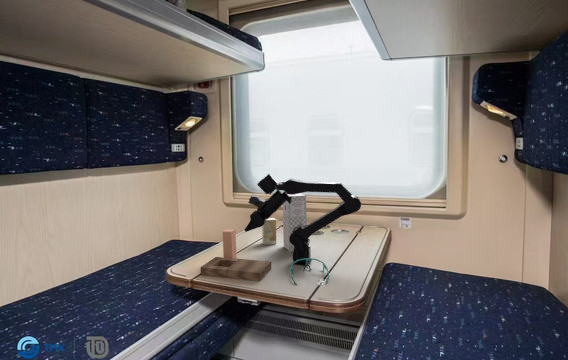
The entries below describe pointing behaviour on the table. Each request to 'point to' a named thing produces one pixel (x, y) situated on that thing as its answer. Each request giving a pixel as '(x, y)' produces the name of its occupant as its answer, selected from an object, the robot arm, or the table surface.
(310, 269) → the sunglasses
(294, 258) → the robot arm
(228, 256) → the terracotta peg block
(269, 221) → the skincare box
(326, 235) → the table surface
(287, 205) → the box
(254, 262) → the wooden peg hole board
